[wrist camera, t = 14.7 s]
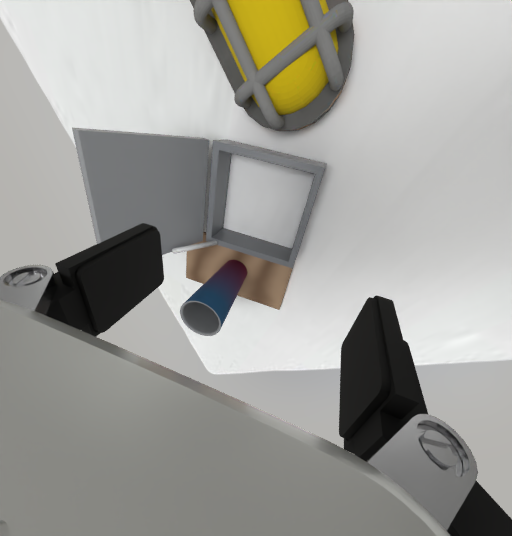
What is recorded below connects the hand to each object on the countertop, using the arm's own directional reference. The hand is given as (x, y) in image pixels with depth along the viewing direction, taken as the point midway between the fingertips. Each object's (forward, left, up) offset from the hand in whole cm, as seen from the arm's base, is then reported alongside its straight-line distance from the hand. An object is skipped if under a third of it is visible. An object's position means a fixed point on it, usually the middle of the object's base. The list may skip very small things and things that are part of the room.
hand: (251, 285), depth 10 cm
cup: (+9, +21, -30) cm, 38 cm away
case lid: (+18, +6, -18) cm, 26 cm away
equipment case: (+8, +6, -31) cm, 32 cm away
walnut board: (+10, +21, -31) cm, 39 cm away
